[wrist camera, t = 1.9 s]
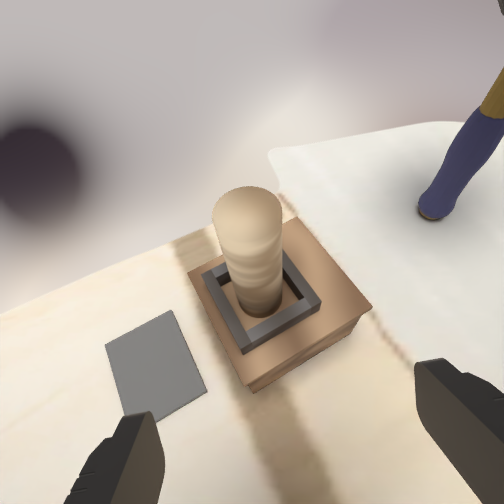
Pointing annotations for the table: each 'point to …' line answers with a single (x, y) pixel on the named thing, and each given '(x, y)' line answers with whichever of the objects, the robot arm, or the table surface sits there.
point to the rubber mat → (154, 368)
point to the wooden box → (282, 310)
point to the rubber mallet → (467, 152)
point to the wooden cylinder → (252, 247)
